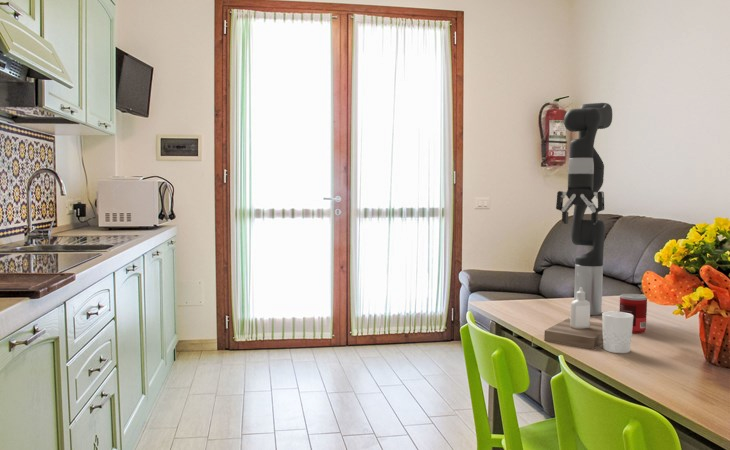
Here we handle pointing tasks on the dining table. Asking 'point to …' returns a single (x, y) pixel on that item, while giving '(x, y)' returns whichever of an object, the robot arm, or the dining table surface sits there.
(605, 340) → the white cup
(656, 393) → the dining table surface
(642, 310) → the canned food
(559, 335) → the walnut base board
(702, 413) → the dining table surface
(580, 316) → the eye dropper bottle
